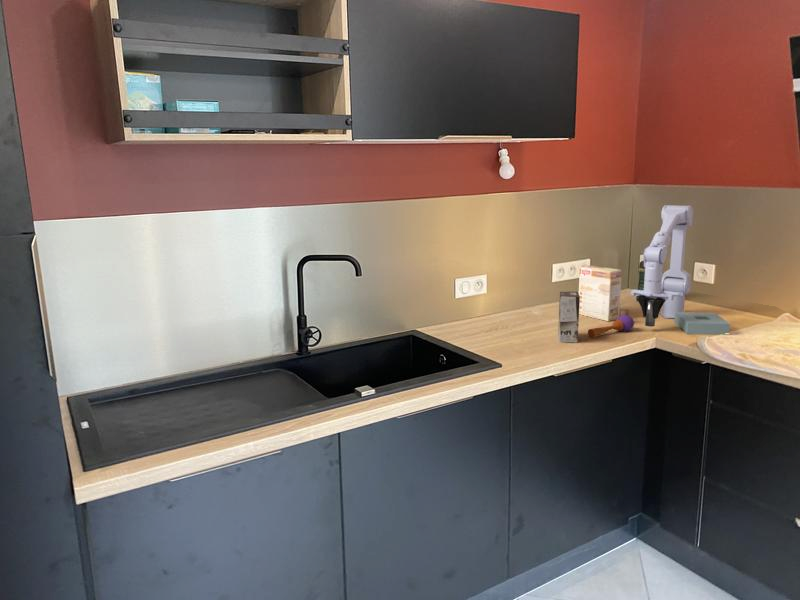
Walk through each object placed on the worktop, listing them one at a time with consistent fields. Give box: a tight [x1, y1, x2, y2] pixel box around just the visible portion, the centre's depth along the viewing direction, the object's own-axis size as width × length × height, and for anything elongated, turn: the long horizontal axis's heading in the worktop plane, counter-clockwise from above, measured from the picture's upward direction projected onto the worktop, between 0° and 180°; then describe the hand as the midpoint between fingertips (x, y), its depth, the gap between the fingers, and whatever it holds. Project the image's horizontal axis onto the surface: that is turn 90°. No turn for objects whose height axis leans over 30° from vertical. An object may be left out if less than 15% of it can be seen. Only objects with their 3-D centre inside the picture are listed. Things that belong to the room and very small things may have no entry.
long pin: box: [644, 300, 656, 327], centre depth 225 cm, size 3×3×9 cm
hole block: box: [674, 311, 731, 336], centre depth 228 cm, size 16×14×4 cm
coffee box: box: [557, 291, 580, 343], centre depth 217 cm, size 9×6×16 cm
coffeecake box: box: [578, 265, 623, 322], centre depth 246 cm, size 15×7×20 cm, turn 34°
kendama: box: [587, 314, 635, 339], centre depth 224 cm, size 6×6×20 cm
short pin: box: [619, 308, 630, 317], centre depth 238 cm, size 3×3×5 cm
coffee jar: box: [635, 260, 656, 303], centre depth 269 cm, size 10×8×19 cm
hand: (650, 317), depth 225 cm, fingers closed on long pin, 3 cm apart
